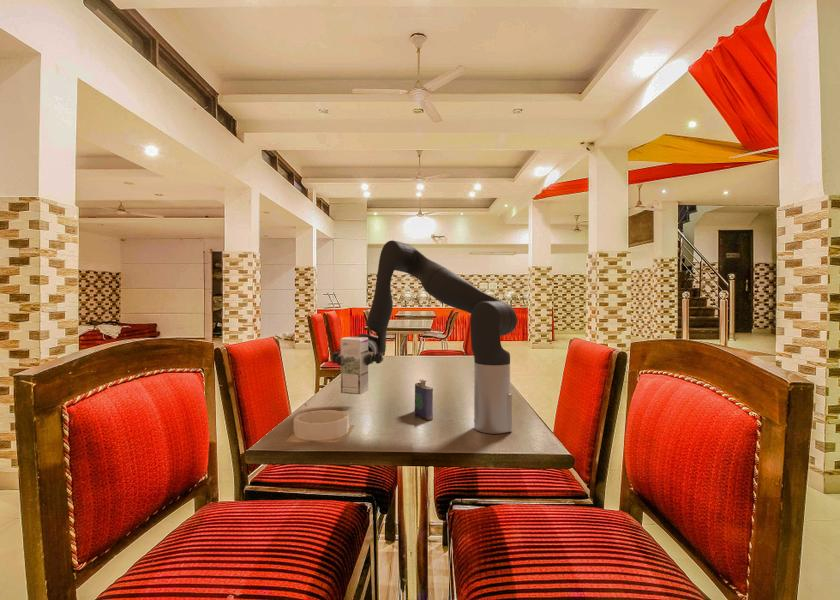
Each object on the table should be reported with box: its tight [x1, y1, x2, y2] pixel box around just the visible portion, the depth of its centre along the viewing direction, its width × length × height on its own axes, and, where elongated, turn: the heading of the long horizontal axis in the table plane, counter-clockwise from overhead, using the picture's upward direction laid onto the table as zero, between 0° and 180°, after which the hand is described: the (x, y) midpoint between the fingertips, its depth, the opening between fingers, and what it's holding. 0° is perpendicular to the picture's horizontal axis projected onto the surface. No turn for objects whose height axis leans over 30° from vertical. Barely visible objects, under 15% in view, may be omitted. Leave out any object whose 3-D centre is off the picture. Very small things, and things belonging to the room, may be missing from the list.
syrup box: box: [340, 336, 369, 395], centre depth 118 cm, size 6×6×14 cm
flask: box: [413, 378, 434, 421], centre depth 128 cm, size 9×3×11 cm, turn 25°
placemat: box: [284, 424, 355, 443], centre depth 110 cm, size 14×14×1 cm
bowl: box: [293, 409, 350, 441], centre depth 110 cm, size 13×13×4 cm
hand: (353, 361), depth 115 cm, fingers closed on syrup box, 6 cm apart
